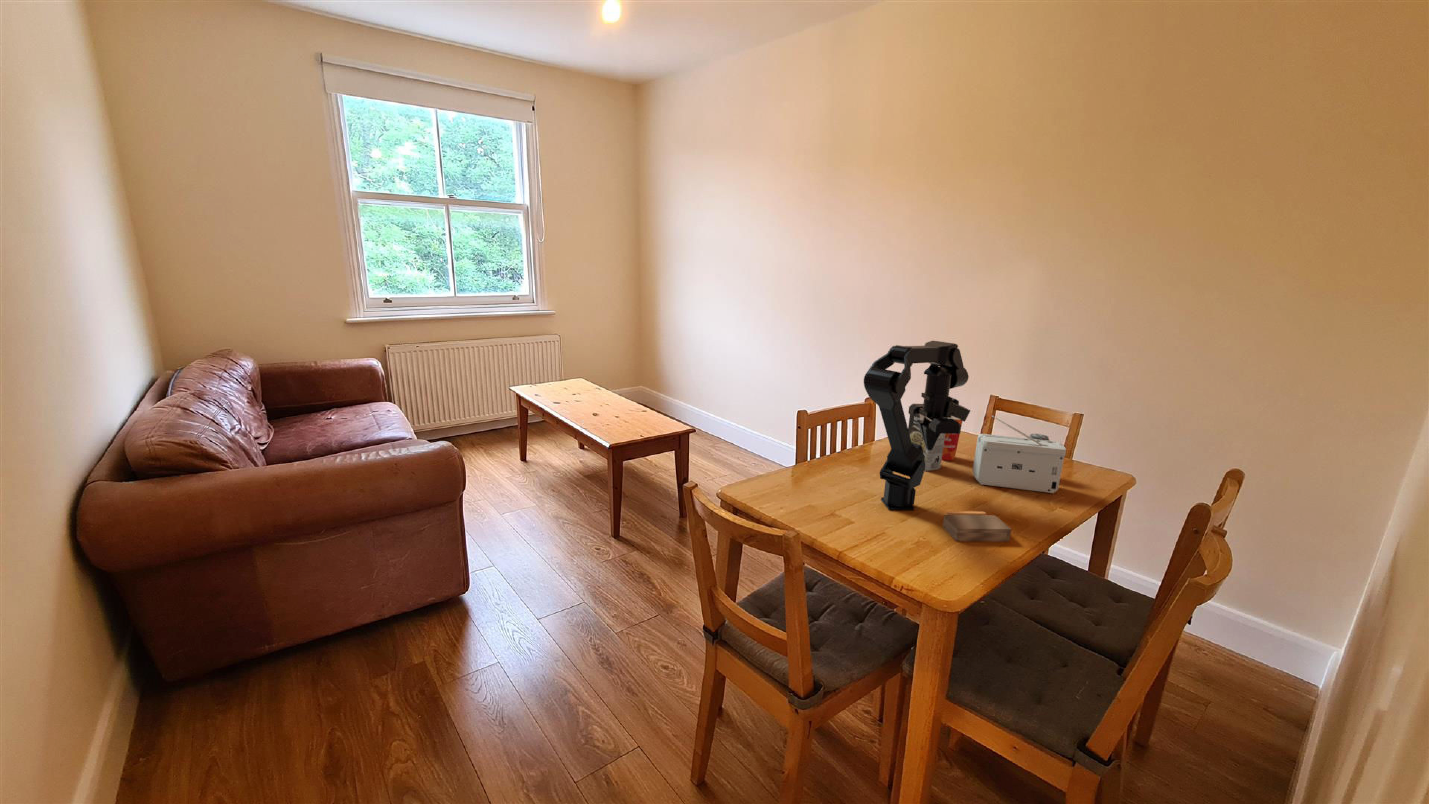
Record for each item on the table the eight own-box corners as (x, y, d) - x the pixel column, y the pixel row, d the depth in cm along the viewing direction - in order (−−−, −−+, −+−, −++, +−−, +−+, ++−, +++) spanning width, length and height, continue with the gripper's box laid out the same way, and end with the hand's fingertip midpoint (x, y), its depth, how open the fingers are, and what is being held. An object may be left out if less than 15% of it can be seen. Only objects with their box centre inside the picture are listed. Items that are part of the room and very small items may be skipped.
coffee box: (902, 461, 174) (909, 410, 170) (918, 459, 177) (925, 408, 173) (925, 471, 166) (932, 418, 162) (941, 468, 169) (948, 416, 165)
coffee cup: (925, 457, 179) (931, 410, 175) (937, 451, 185) (943, 406, 181) (951, 464, 173) (958, 416, 169) (963, 458, 179) (969, 412, 175)
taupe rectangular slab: (956, 541, 125) (957, 528, 124) (942, 526, 132) (944, 514, 131) (1009, 541, 126) (1011, 529, 125) (993, 527, 132) (995, 515, 132)
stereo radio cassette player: (1051, 485, 159) (1064, 416, 154) (1060, 496, 152) (1074, 424, 147) (971, 475, 165) (981, 408, 160) (975, 486, 157) (986, 416, 152)
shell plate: (960, 539, 127) (962, 527, 126) (945, 522, 134) (946, 511, 134) (1000, 539, 127) (1002, 527, 126) (982, 523, 135) (984, 511, 134)
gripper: (986, 401, 135) (977, 463, 139) (951, 384, 154) (944, 439, 157) (940, 400, 135) (932, 462, 139) (911, 383, 153) (904, 438, 157)
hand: (929, 449), depth 148 cm, fingers closed
